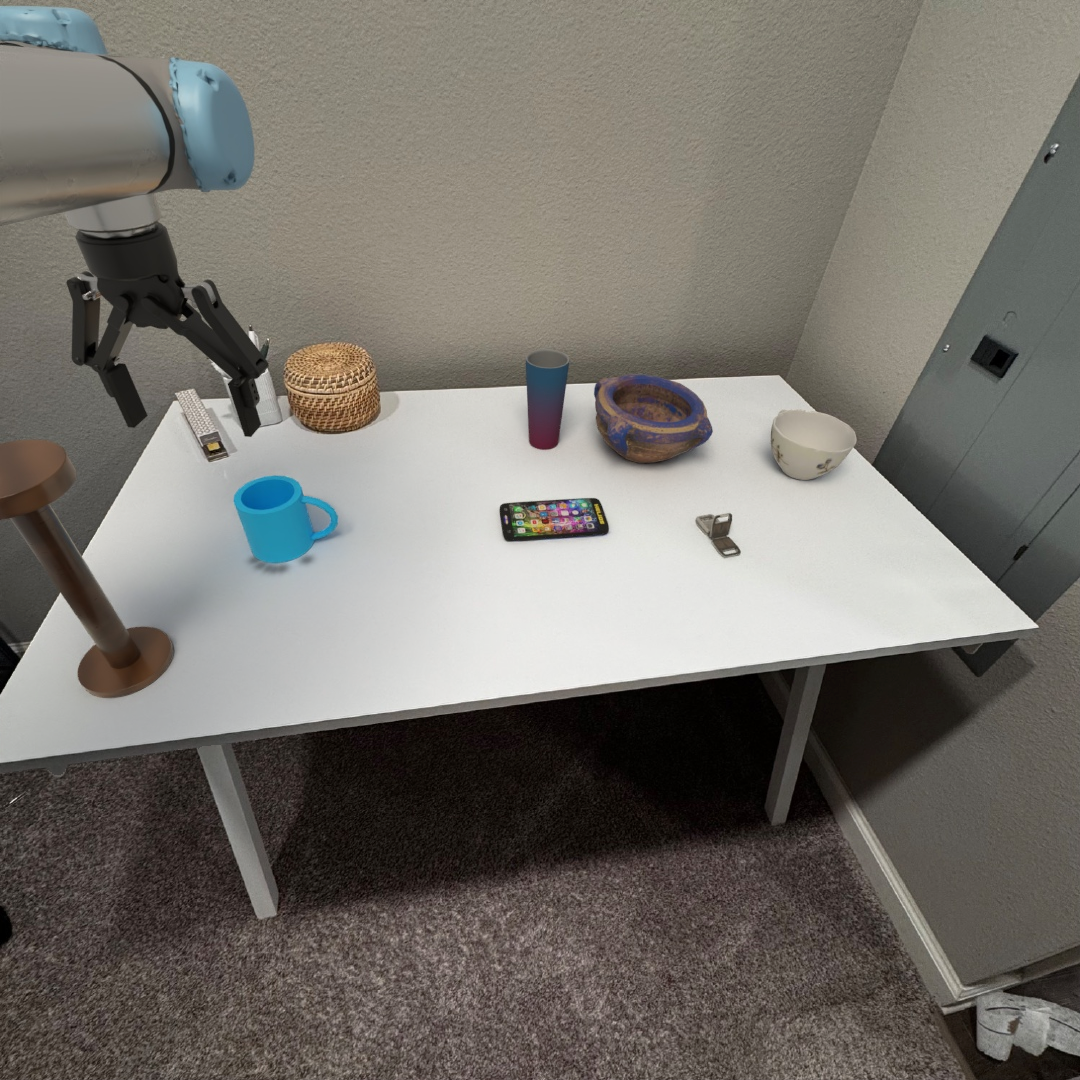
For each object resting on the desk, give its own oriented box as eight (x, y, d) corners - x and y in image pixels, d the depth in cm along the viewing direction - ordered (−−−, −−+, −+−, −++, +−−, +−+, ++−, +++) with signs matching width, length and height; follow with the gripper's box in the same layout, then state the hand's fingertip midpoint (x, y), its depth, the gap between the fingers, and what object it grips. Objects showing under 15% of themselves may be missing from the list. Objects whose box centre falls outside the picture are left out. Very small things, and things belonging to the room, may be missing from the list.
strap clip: (693, 520, 91) (699, 497, 88) (711, 517, 92) (717, 494, 89) (722, 559, 85) (730, 535, 82) (742, 555, 86) (750, 531, 83)
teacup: (855, 488, 99) (875, 445, 93) (786, 498, 96) (802, 454, 91) (802, 438, 109) (817, 397, 104) (738, 445, 107) (750, 404, 101)
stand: (93, 713, 64) (-59, 517, 47) (72, 658, 69) (-72, 463, 52) (185, 668, 68) (77, 474, 51) (159, 619, 73) (53, 428, 56)
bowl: (709, 479, 99) (724, 424, 92) (597, 479, 98) (604, 424, 91) (684, 421, 112) (695, 369, 106) (585, 420, 111) (590, 368, 105)
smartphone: (498, 502, 91) (599, 496, 93) (498, 507, 91) (598, 501, 93) (503, 537, 85) (611, 530, 87) (503, 543, 86) (610, 536, 87)
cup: (515, 439, 106) (516, 356, 96) (544, 426, 109) (548, 344, 99) (542, 457, 102) (546, 372, 92) (571, 443, 105) (578, 359, 96)
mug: (244, 564, 81) (225, 515, 75) (258, 524, 87) (242, 476, 81) (339, 560, 82) (327, 511, 77) (346, 520, 88) (336, 473, 83)
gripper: (268, 223, 60) (313, 417, 74) (18, 207, 61) (110, 401, 75) (232, 247, 54) (288, 452, 68) (-42, 228, 55) (69, 434, 69)
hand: (195, 426), depth 72 cm, fingers open, 13 cm apart
